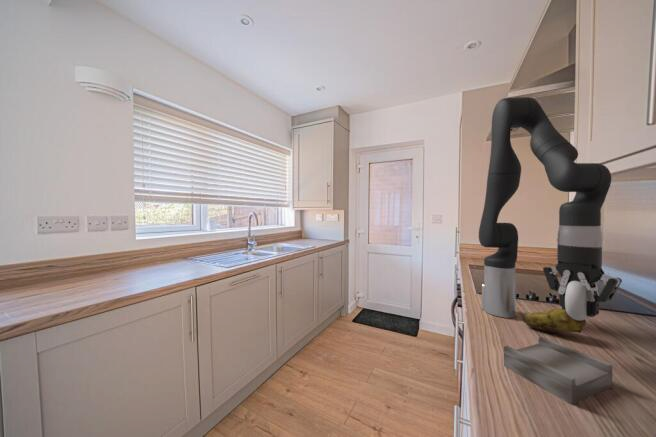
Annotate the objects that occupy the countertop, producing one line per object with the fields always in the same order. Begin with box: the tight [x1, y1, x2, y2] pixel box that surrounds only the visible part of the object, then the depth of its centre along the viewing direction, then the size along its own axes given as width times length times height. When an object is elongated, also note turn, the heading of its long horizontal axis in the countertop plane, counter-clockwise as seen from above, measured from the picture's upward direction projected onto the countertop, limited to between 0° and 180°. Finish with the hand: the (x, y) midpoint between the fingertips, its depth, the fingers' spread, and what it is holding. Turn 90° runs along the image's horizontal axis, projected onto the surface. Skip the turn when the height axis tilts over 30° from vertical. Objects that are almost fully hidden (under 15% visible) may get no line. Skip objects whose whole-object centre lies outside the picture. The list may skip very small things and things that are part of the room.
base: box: [503, 336, 613, 405], centre depth 51 cm, size 12×14×4 cm
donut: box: [565, 281, 589, 321], centre depth 58 cm, size 10×4×10 cm, turn 123°
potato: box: [523, 308, 587, 334], centre depth 70 cm, size 8×13×8 cm, turn 28°
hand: (577, 312), depth 58 cm, fingers closed on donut, 4 cm apart
